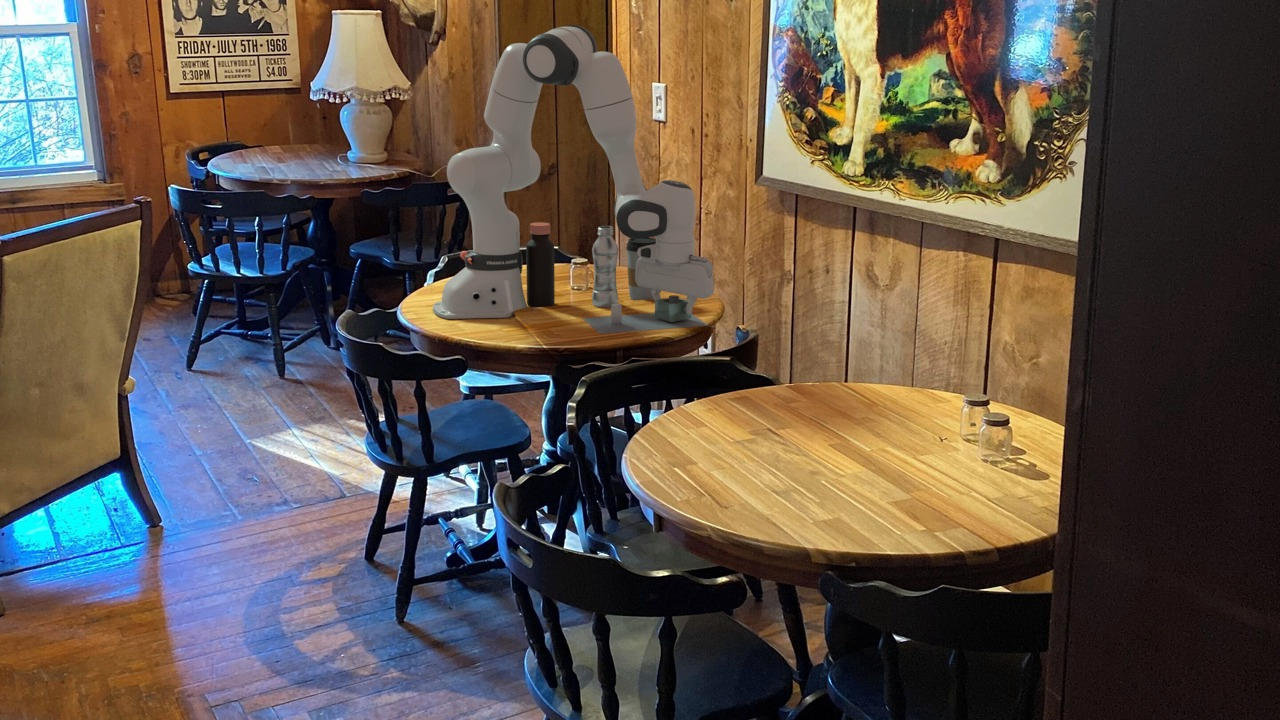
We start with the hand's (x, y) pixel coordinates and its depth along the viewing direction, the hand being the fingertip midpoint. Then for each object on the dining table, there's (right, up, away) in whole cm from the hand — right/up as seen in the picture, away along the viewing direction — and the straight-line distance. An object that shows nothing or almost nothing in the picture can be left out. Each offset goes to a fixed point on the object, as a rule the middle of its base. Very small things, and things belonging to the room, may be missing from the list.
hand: (673, 310), depth 273 cm
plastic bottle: (-16, +1, +14) cm, 21 cm away
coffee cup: (-7, +4, +24) cm, 25 cm away
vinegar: (-32, +2, +16) cm, 36 cm away
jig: (-7, -4, -1) cm, 8 cm away
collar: (0, -2, 0) cm, 2 cm away
